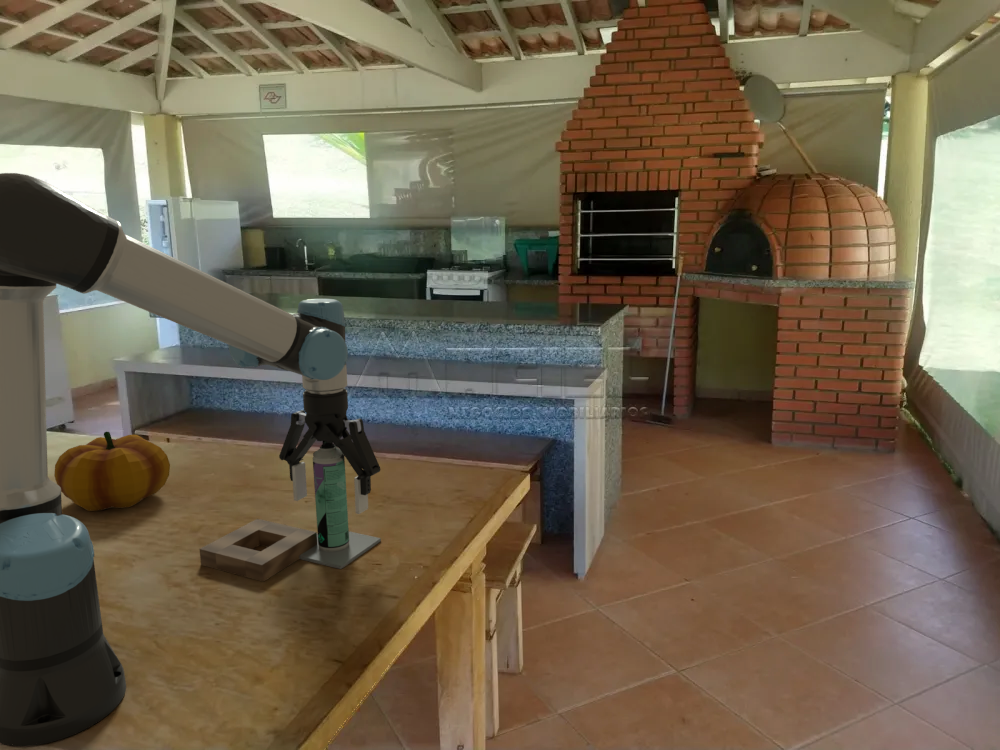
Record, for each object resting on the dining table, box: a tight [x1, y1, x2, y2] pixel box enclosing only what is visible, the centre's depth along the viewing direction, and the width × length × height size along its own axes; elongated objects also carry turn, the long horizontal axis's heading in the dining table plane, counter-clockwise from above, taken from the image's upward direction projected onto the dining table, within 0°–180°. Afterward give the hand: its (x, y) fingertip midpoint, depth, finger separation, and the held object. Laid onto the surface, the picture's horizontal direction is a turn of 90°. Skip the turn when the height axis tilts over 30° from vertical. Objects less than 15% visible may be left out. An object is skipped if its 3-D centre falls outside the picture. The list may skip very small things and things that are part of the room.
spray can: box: [312, 441, 349, 552], centre depth 134 cm, size 6×6×20 cm
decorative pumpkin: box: [53, 431, 171, 512], centre depth 157 cm, size 20×22×15 cm
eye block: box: [198, 518, 318, 582], centre depth 133 cm, size 14×14×3 cm
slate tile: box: [298, 531, 382, 570], centre depth 136 cm, size 12×12×1 cm
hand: (330, 504), depth 134 cm, fingers open, 13 cm apart
